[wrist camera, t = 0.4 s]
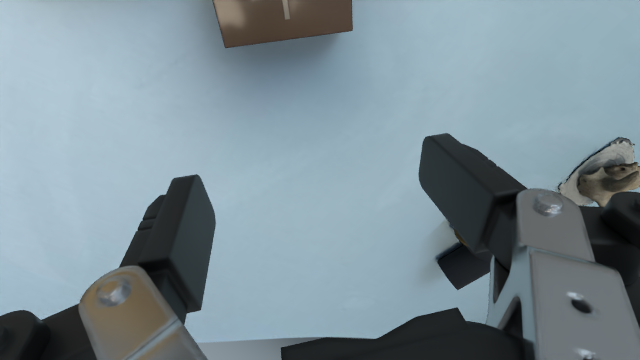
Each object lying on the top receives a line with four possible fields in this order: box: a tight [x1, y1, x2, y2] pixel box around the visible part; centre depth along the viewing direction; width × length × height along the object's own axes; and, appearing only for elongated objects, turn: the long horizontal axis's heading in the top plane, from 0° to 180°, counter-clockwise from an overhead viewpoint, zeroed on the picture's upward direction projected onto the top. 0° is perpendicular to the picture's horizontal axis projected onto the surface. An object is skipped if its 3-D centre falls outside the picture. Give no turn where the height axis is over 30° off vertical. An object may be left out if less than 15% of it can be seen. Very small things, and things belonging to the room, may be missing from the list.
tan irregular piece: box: [559, 138, 640, 207], centre depth 40 cm, size 10×12×6 cm
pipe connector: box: [437, 229, 493, 290], centre depth 42 cm, size 12×5×15 cm
